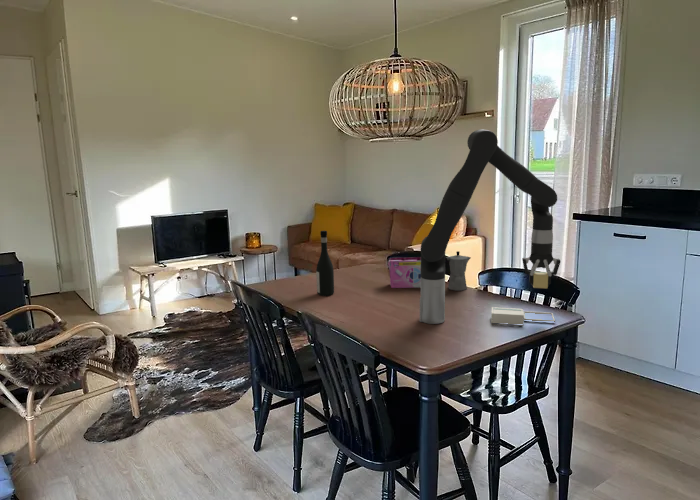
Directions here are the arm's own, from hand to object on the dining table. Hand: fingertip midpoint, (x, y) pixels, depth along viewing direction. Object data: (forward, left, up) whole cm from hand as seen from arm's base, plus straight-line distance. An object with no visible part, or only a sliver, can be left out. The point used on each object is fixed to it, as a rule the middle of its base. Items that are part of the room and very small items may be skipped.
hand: (540, 284), depth 195 cm
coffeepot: (-35, +40, -14) cm, 54 cm away
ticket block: (-12, -6, -13) cm, 19 cm away
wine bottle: (-93, +18, -14) cm, 95 cm away
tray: (0, 0, -13) cm, 13 cm away
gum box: (-55, +41, -14) cm, 70 cm away
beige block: (0, 0, 0) cm, 0 cm away
